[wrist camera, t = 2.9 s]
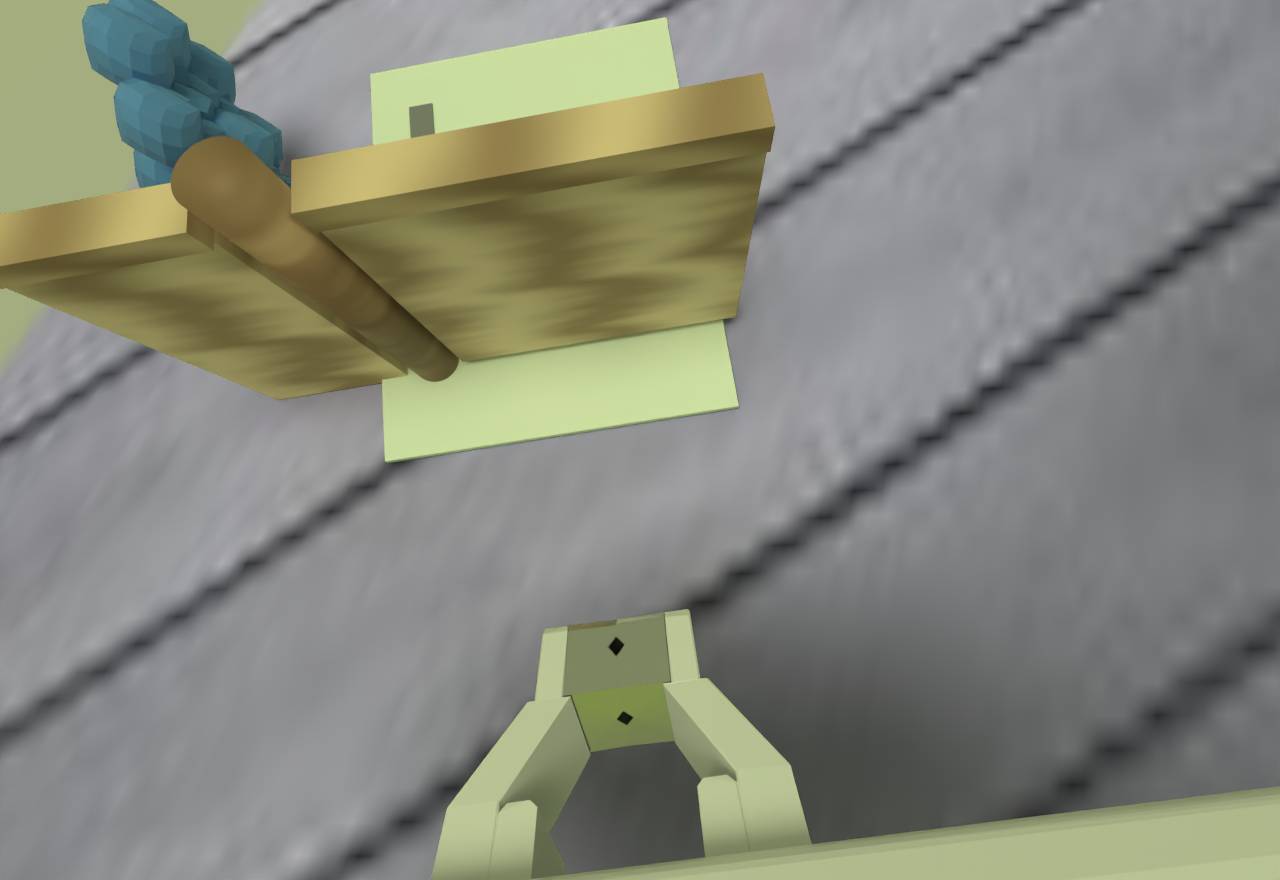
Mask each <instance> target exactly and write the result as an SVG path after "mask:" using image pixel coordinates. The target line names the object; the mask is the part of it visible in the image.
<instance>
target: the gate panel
mask: <svg viewBox="0 0 1280 880" xmlns="http://www.w3.org/2000/svg"><path fill="white" fill-rule="evenodd" d="M774 130H775V123H774V119H773V114H772V110H771V106H770V101H769V97H768V92H767V88H766V84H765V79H764V75H763V73H759V74H754V75H749V76H743V77H738V78H733V79H727V80H722V81H716V82H711V83H706V84H700V85H695V86H689V87H684V88H679V89H673V90H668V91H662V92H657V93H652V94H646V95H641V96H636V97H630V98H625V99H619V100H614V101H609V102H603V103H598V104H592V105H587V106H582V107H576V108H571V109H566V110H560V111H555V112H549V113H544V114H539V115H533V116H528V117H522V118H517V119H512V120H506V121H501V122H495V123H490V124H485V125H479V126H474V127H469V128H463V129H458V130H452V131H447V132H442V133H436V134H431V135H425V136H420V137H415V138H409V139H404V140H399V141H393V142H388V143H382V144H377V145H372V146H366V147H361V148H355V149H350V150H345V151H339V152H334V153H328V154H323V155H318V156H312V157H307V158H302V159H296V160H291V214H292V215H293V216H295V217H296V218H297V219H298V220H299V221H300V222H301V223H302V224H303V225H305V226H306V227H307V228H308V229H309V230H310V231H311V232H312V233H317V232H322V233H323V234H324V235H325V236H326V237H327V238H328V239H329V240H330V241H332V242H333V243H334V244H335V245H336V246H337V247H338V248H339V249H340V250H341V251H342V252H344V253H345V254H346V255H347V256H348V257H349V258H350V259H351V260H352V261H353V262H354V263H356V264H357V265H358V266H359V267H360V268H361V269H362V270H363V271H364V272H365V273H366V274H368V275H369V276H370V277H371V278H372V279H373V280H374V281H375V282H376V283H377V284H378V285H380V286H381V287H382V288H383V289H384V290H385V291H386V292H387V293H388V294H389V295H390V296H392V297H393V298H394V299H395V300H396V301H397V302H398V303H399V304H400V305H401V306H402V307H404V308H405V309H406V310H407V311H408V312H409V313H410V314H411V315H412V316H413V317H414V318H416V319H417V320H418V321H419V322H420V323H421V324H422V325H423V326H424V327H425V328H426V329H428V330H429V331H430V332H431V333H432V334H433V335H434V336H435V337H436V338H437V339H438V340H440V341H441V342H442V343H443V344H444V345H445V346H446V347H447V348H448V349H449V350H450V351H452V352H453V353H454V354H455V355H456V356H457V357H458V358H459V359H460V360H461V361H462V362H465V361H471V360H477V359H483V358H489V357H495V356H501V355H507V354H514V353H520V352H526V351H532V350H538V349H544V348H550V347H556V346H562V345H568V344H574V343H580V342H586V341H592V340H599V339H605V338H611V337H617V336H623V335H629V334H635V333H641V332H647V331H653V330H659V329H665V328H671V327H677V326H684V325H690V324H696V323H702V322H708V321H714V320H720V319H726V318H732V317H736V314H737V309H738V303H739V298H740V293H741V287H742V282H743V277H744V271H745V266H746V260H747V255H748V250H749V244H750V239H751V233H752V228H753V223H754V217H755V212H756V206H757V201H758V196H759V190H760V185H761V180H762V174H763V169H764V163H765V158H766V153H767V152H770V150H771V145H772V140H773V135H774Z"/></svg>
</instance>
